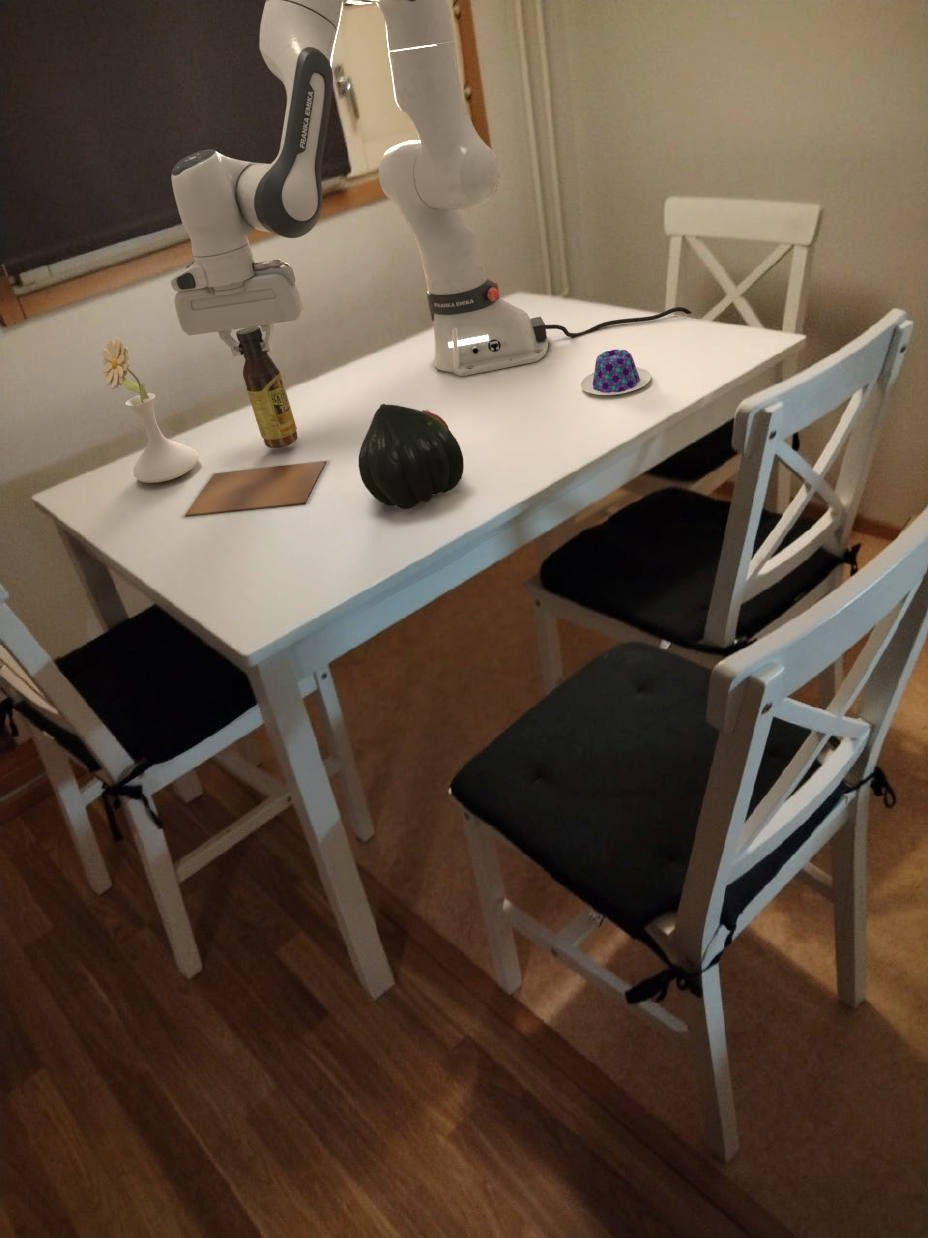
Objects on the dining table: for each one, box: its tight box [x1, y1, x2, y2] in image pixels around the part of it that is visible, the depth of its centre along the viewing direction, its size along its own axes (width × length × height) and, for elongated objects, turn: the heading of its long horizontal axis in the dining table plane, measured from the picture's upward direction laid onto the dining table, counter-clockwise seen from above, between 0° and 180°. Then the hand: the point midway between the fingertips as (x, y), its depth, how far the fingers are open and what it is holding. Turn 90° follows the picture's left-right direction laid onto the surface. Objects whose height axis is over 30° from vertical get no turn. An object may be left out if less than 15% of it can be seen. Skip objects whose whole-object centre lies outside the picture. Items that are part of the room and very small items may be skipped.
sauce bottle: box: [235, 326, 298, 449], centre depth 157 cm, size 6×6×20 cm
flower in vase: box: [101, 336, 199, 484], centre depth 154 cm, size 13×11×25 cm
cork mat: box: [184, 460, 327, 517], centre depth 151 cm, size 20×14×1 cm
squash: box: [358, 403, 465, 510], centre depth 136 cm, size 14×15×15 cm
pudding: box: [580, 349, 652, 396], centre depth 158 cm, size 12×12×5 cm
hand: (253, 352), depth 153 cm, fingers closed on sauce bottle, 4 cm apart
